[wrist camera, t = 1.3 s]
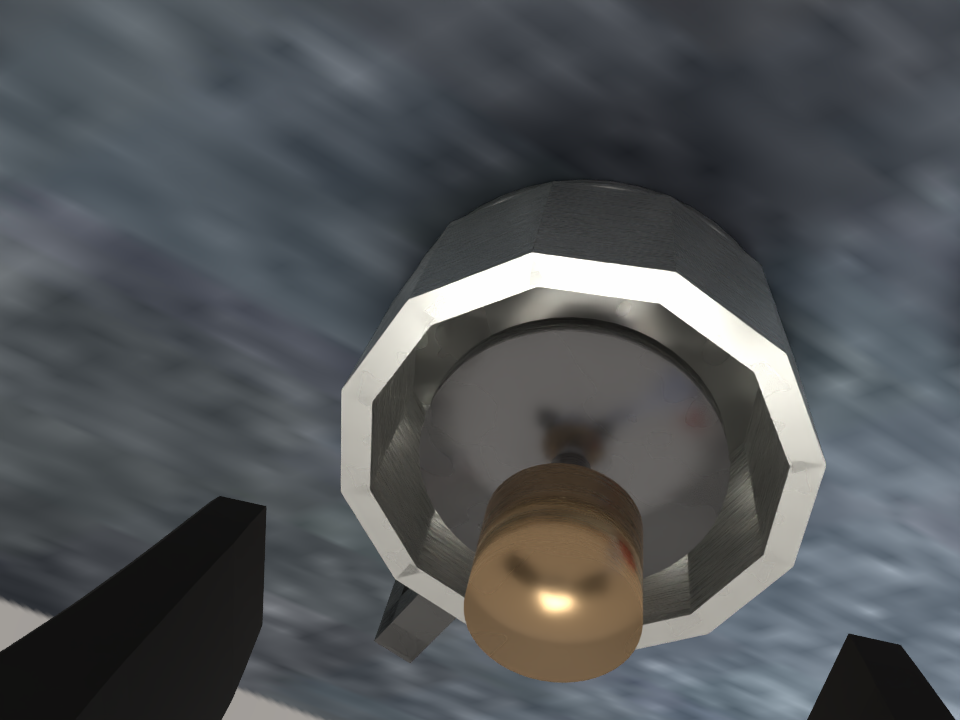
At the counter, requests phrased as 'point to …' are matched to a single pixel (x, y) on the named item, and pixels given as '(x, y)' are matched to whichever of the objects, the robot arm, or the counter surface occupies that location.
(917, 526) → the counter surface
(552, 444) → the plunger
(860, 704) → the robot arm
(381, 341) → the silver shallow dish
